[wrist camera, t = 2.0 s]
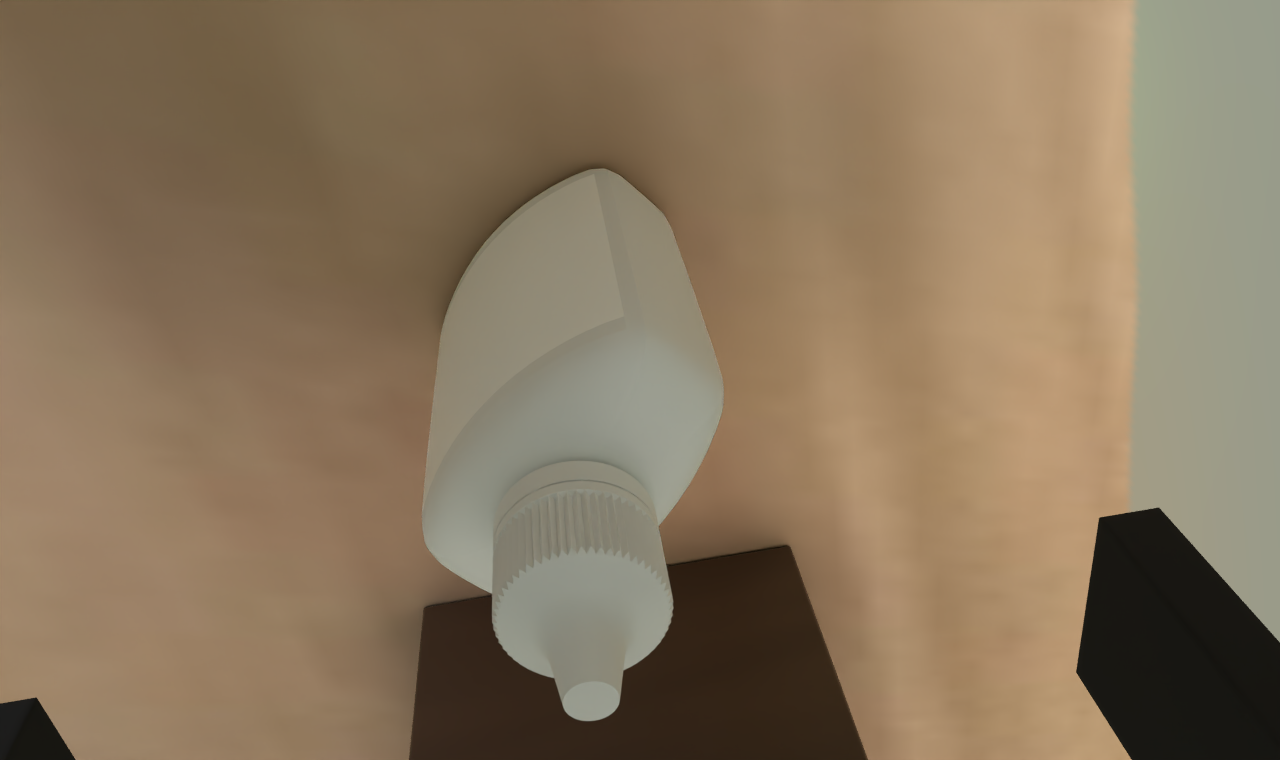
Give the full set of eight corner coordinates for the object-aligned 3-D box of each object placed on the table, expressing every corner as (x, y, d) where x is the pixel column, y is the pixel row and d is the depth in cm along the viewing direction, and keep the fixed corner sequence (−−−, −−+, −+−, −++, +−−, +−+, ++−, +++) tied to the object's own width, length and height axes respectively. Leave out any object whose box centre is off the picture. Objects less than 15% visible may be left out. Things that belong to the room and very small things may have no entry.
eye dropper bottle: (393, 229, 21) (289, 649, 11) (644, 144, 21) (773, 498, 11) (471, 392, 24) (445, 865, 14) (699, 318, 23) (848, 745, 13)
